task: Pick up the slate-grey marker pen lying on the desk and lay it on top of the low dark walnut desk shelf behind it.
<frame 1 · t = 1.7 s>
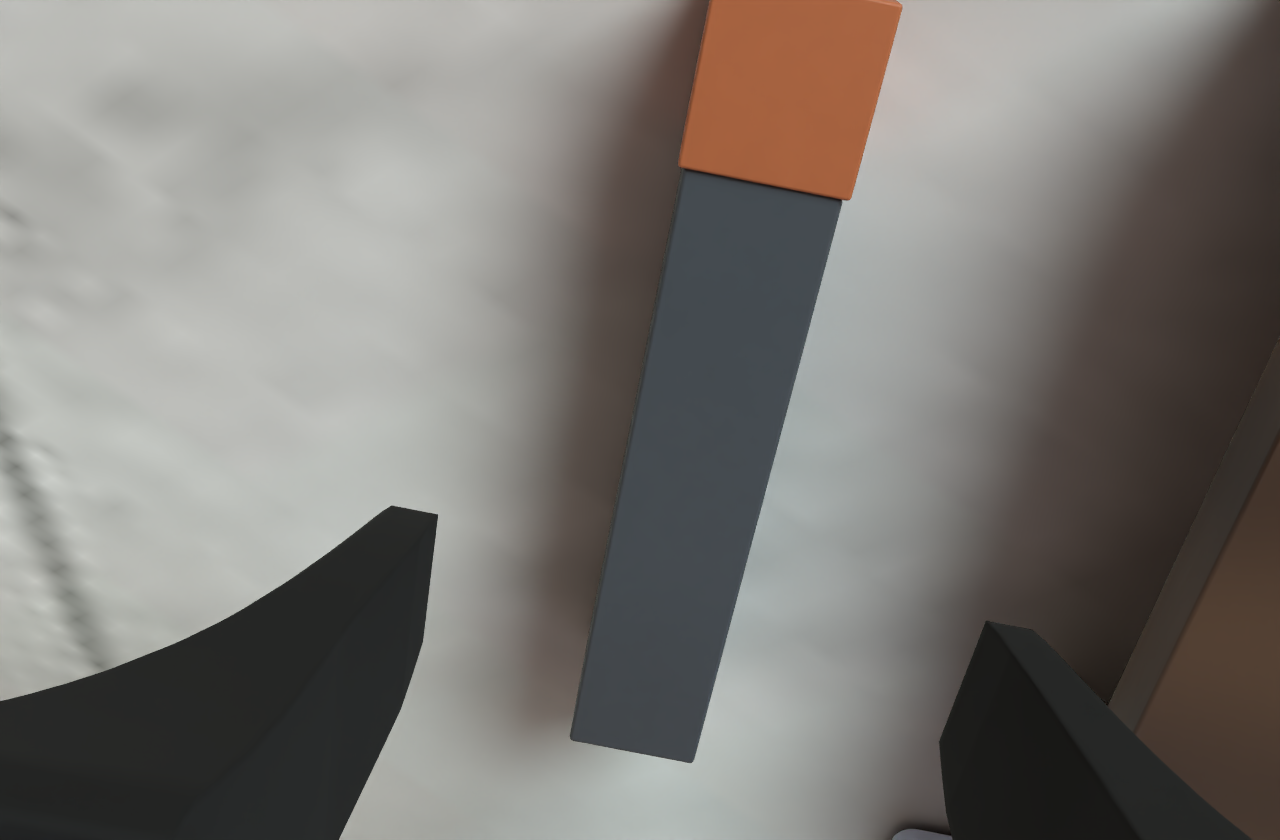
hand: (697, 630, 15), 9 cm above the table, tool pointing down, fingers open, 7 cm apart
marker: (708, 358, 23), on the table
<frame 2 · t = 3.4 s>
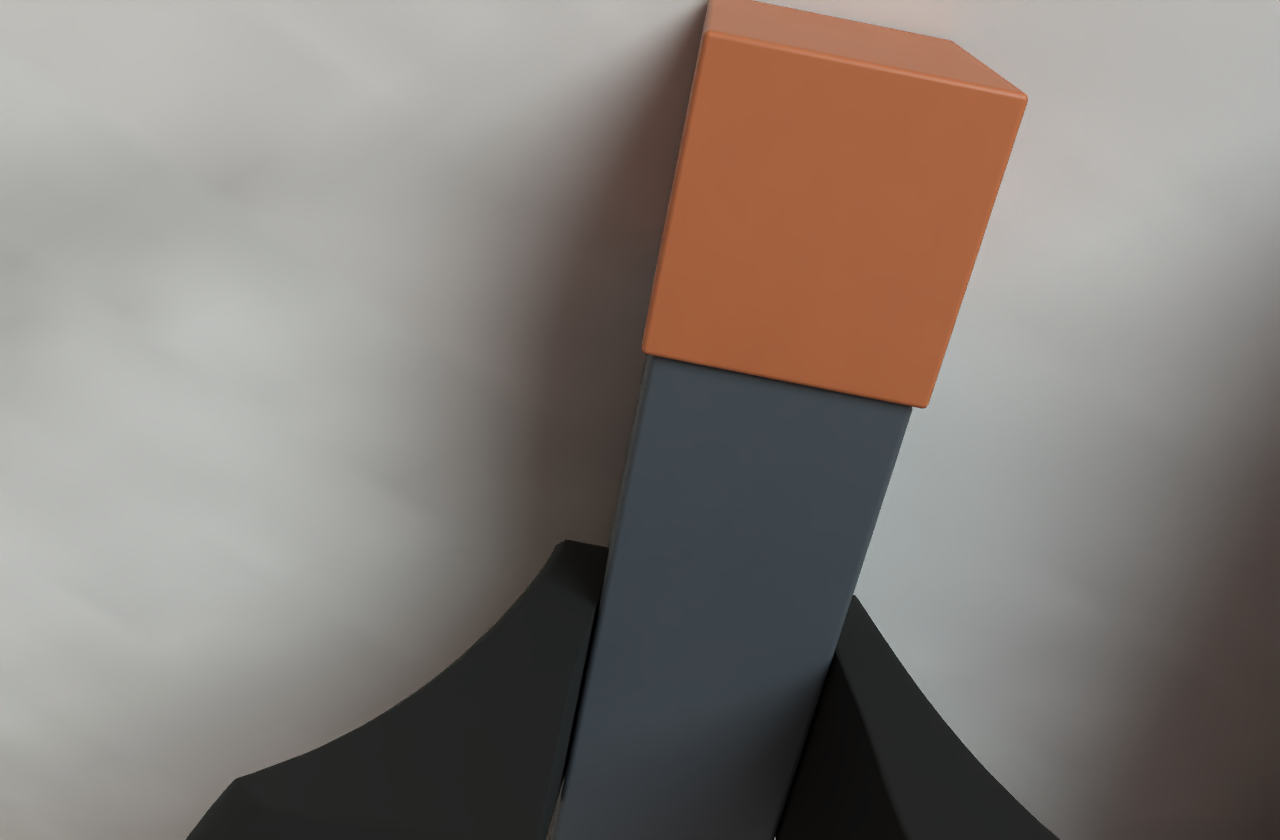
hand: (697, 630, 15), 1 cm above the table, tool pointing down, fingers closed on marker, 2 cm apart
marker: (697, 570, 16), on the table, touching gripper
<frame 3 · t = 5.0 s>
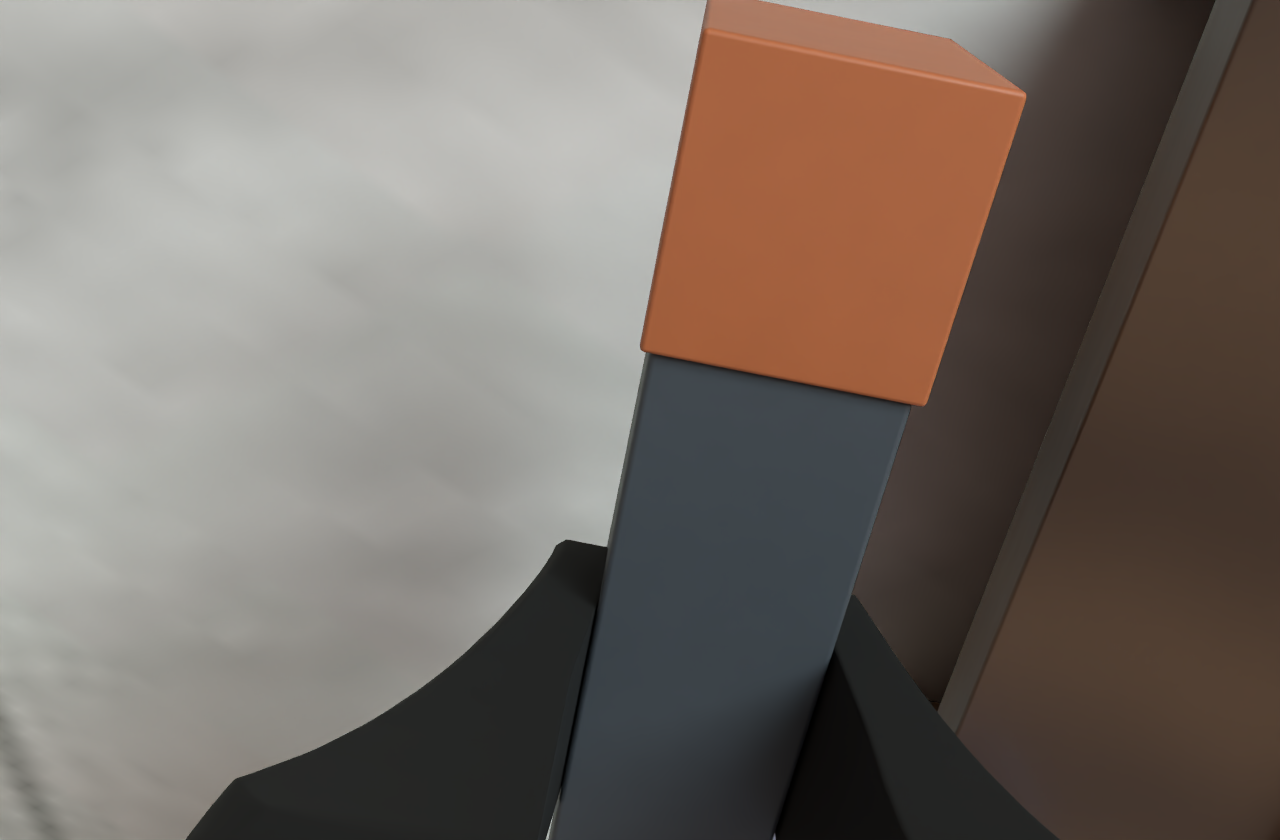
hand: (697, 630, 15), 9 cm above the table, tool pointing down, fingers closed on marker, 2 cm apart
marker: (696, 569, 16), point 7 cm above the table, touching gripper
shelf: (1178, 422, 22), on the table
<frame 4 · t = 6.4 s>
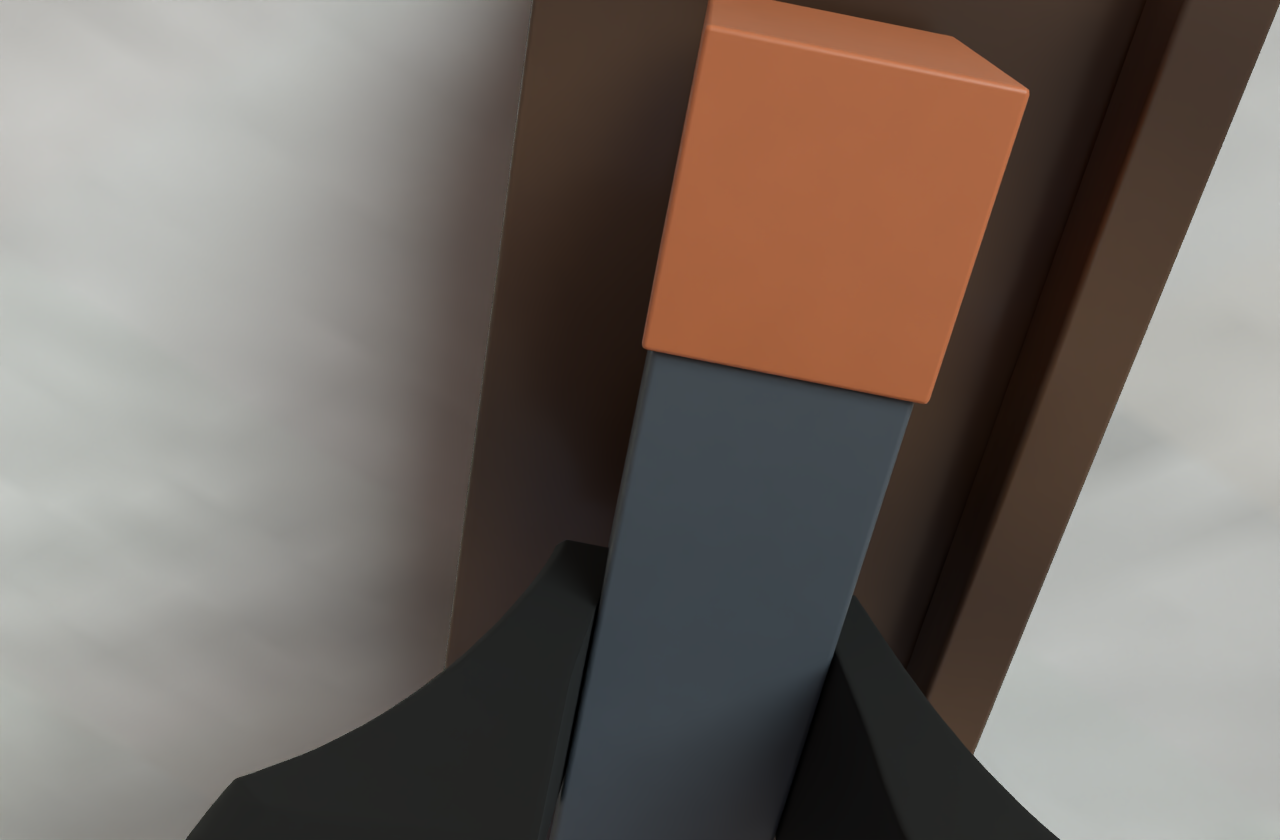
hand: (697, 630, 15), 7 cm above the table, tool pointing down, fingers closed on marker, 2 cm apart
marker: (698, 567, 16), point 6 cm above the table, touching gripper
shelf: (732, 406, 21), on the table
when the fingers open (6 cm above the table, at t = 6.9 s): marker stays where it is, resting on shelf.
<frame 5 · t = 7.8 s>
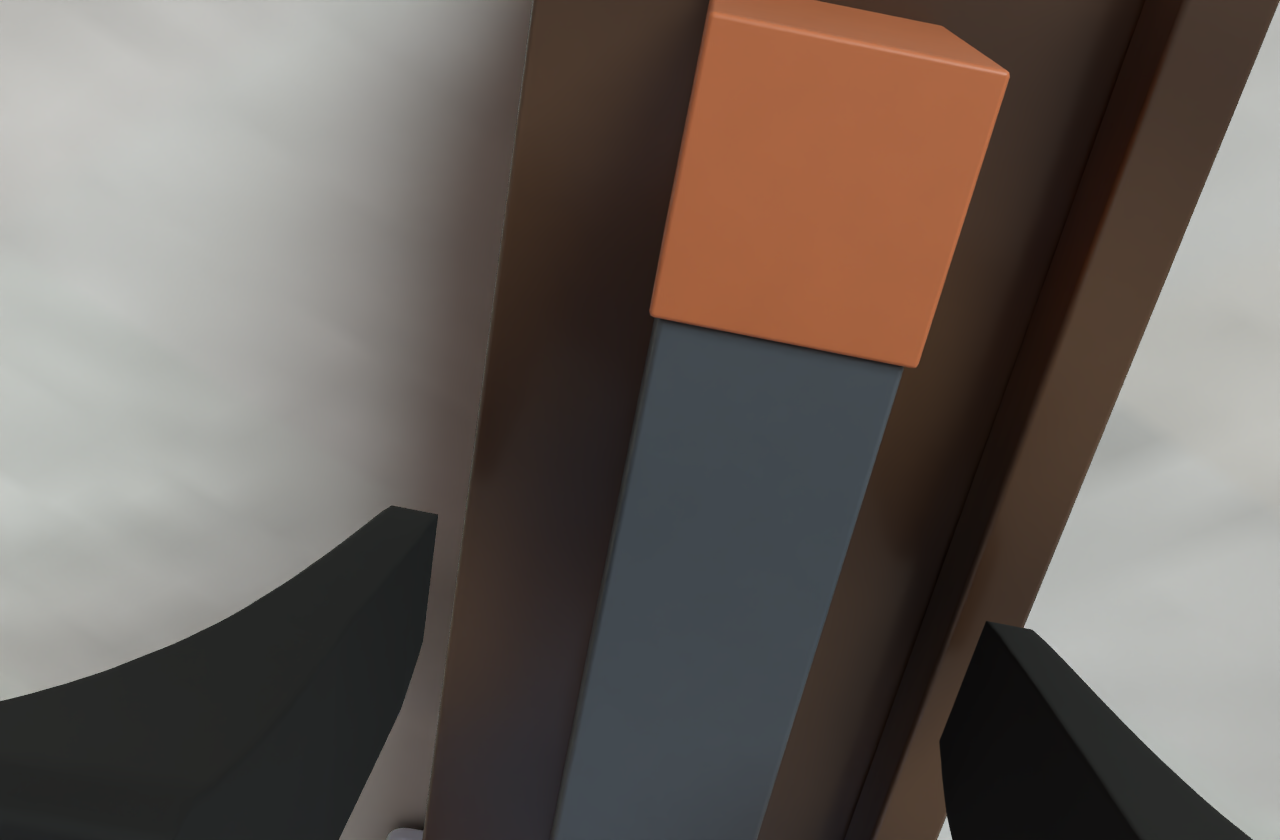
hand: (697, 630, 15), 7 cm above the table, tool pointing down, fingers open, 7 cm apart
marker: (700, 535, 17), point 5 cm above the table, touching shelf
shelf: (733, 403, 21), on the table
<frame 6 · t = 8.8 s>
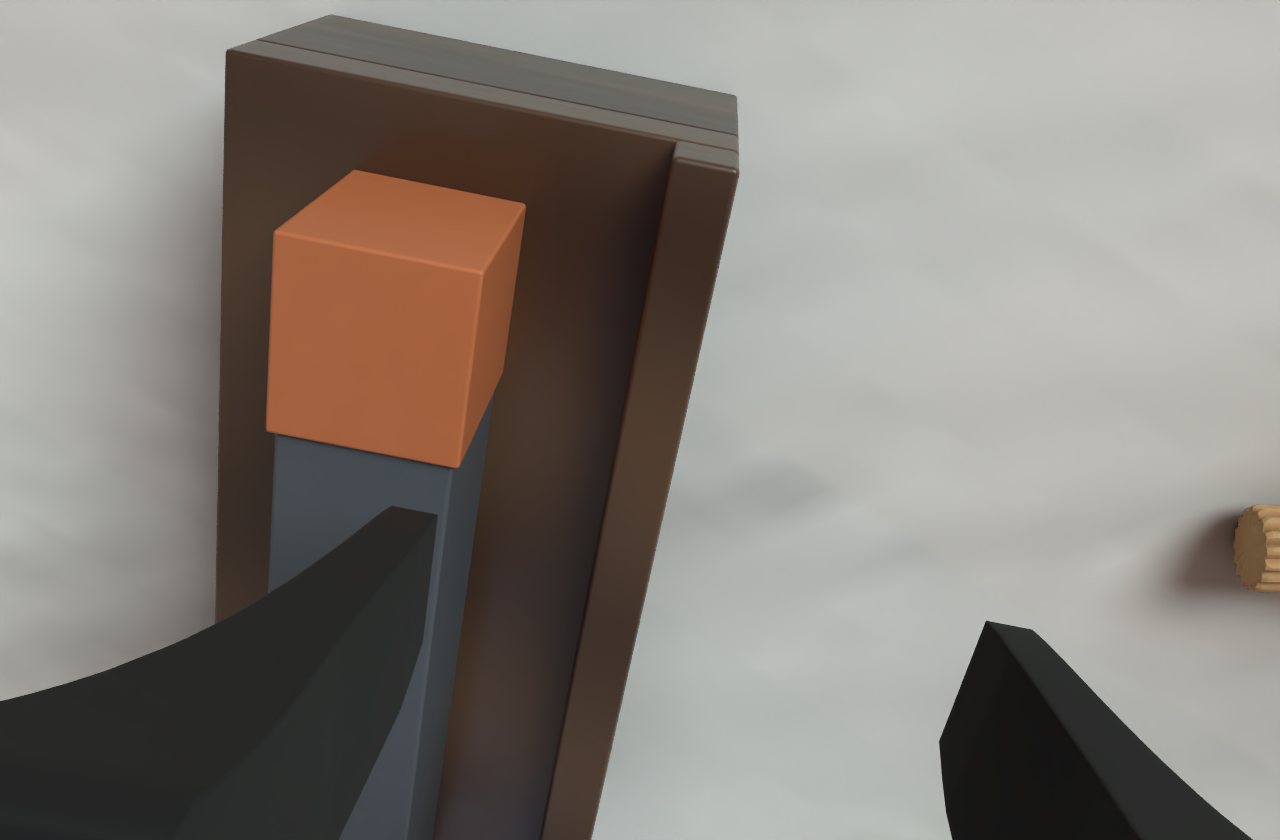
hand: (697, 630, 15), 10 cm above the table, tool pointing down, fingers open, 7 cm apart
marker: (399, 575, 21), point 5 cm above the table, touching shelf
shelf: (479, 460, 26), on the table
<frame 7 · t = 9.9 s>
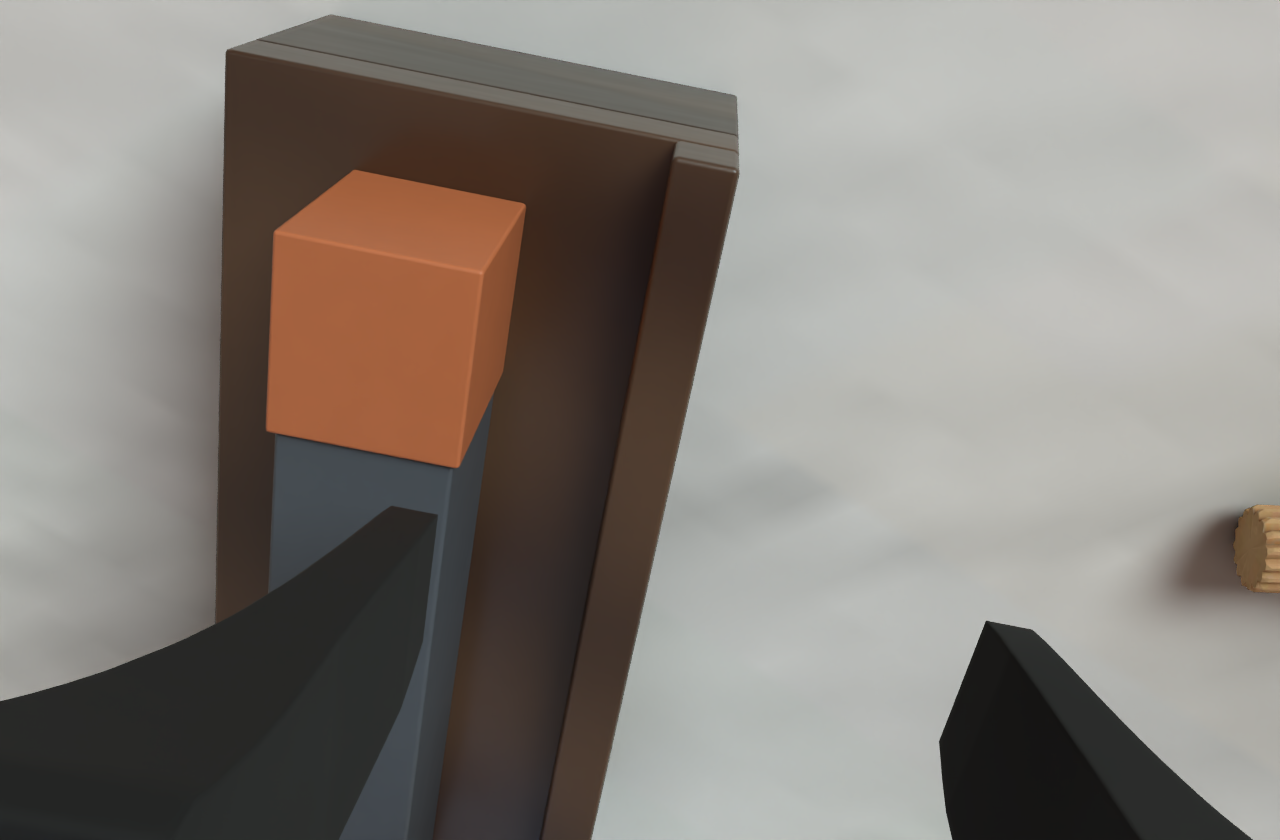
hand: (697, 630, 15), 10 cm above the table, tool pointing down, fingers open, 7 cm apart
marker: (399, 575, 21), point 5 cm above the table, touching shelf
shelf: (479, 460, 26), on the table
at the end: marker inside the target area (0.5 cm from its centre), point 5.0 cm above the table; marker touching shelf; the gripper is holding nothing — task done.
